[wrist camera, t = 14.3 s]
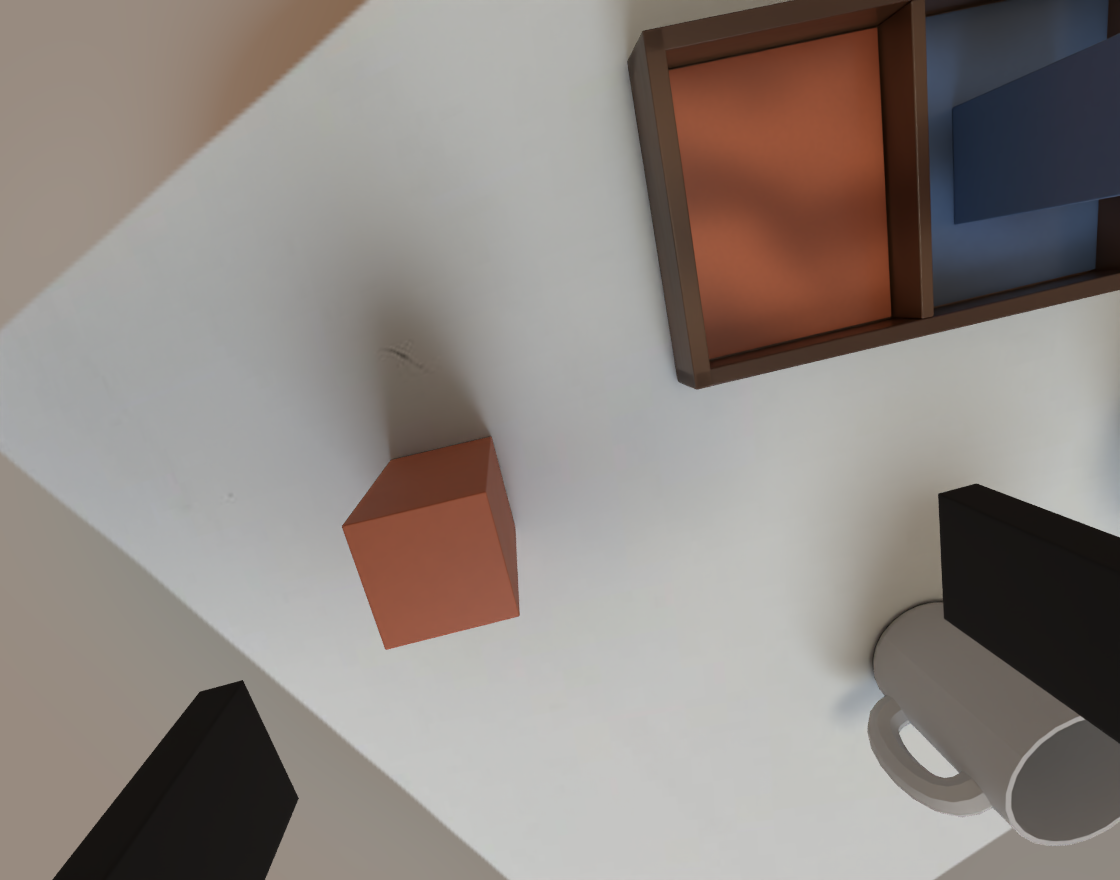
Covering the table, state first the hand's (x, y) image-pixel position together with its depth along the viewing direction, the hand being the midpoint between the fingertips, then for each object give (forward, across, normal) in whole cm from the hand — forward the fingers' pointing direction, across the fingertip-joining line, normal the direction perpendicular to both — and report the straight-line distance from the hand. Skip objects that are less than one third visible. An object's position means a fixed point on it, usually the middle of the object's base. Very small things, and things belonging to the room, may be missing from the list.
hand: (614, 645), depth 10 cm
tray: (+17, +18, +8) cm, 26 cm away
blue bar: (+16, +23, +8) cm, 29 cm away
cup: (+17, +18, -19) cm, 31 cm away
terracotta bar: (+17, -5, -2) cm, 18 cm away
